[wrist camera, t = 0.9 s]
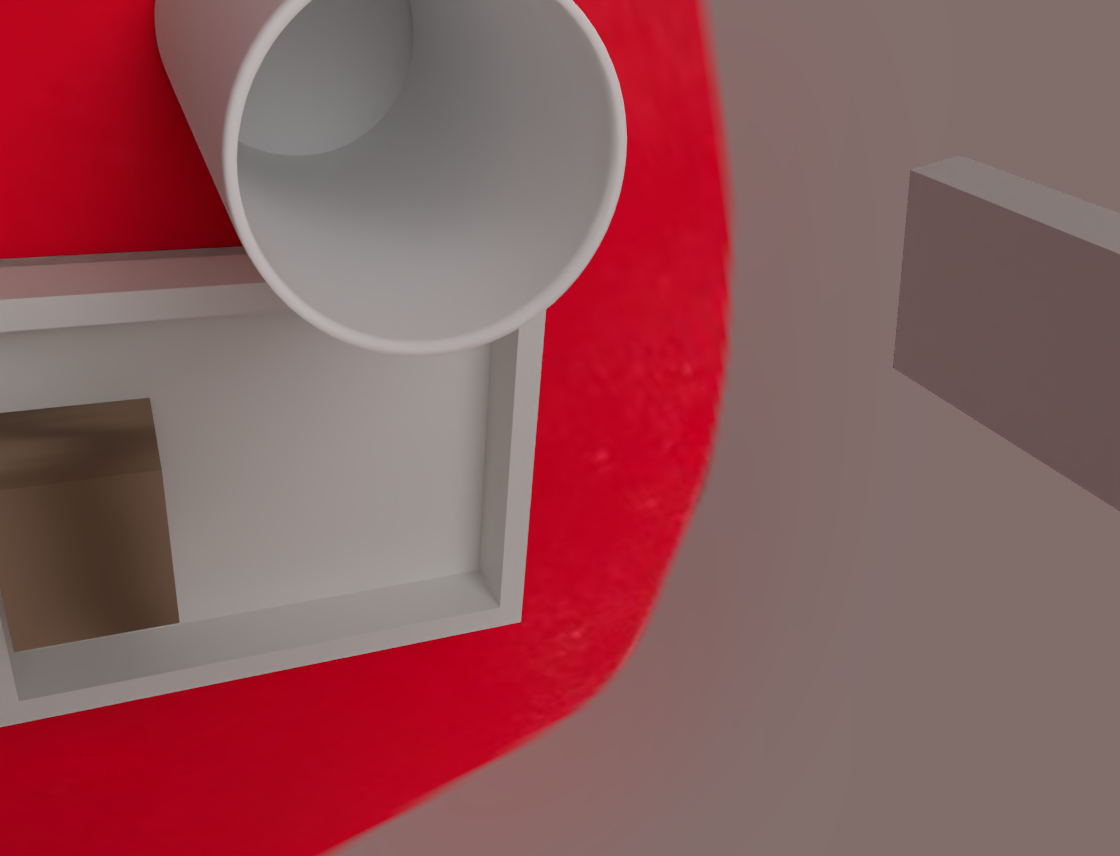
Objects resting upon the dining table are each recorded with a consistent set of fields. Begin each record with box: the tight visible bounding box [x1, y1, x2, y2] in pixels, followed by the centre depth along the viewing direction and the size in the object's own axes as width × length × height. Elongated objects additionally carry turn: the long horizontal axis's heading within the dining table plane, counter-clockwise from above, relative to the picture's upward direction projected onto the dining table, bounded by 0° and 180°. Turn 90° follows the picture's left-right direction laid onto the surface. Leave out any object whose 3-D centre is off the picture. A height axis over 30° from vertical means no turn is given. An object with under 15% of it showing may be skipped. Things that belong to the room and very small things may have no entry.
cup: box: [155, 0, 627, 357], centre depth 27 cm, size 8×8×16 cm
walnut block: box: [0, 398, 180, 652], centre depth 35 cm, size 5×6×5 cm
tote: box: [0, 246, 546, 727], centre depth 38 cm, size 20×16×4 cm
